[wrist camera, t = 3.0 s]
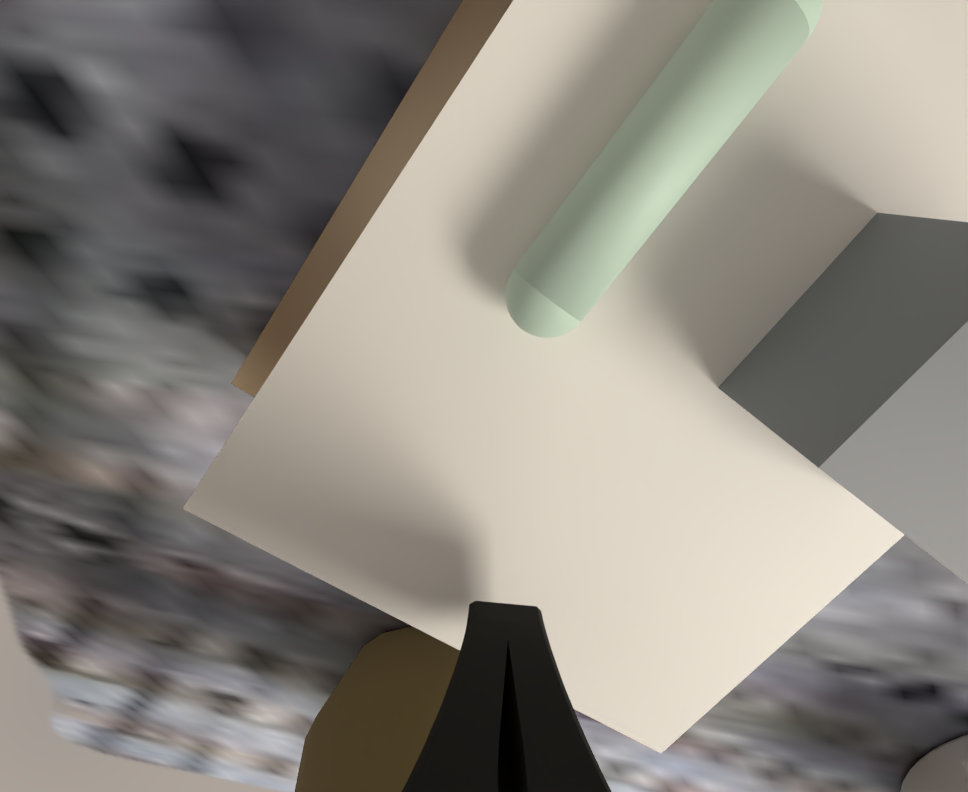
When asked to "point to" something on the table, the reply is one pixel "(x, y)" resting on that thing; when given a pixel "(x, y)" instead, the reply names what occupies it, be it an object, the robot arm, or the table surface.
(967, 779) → the mug
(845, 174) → the level plate
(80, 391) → the table surface
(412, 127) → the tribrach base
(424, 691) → the squeeze bottle
